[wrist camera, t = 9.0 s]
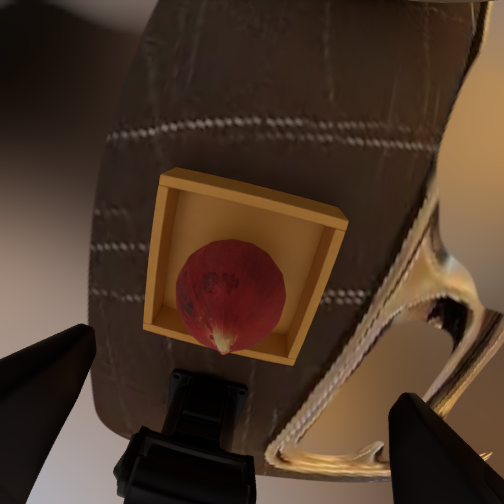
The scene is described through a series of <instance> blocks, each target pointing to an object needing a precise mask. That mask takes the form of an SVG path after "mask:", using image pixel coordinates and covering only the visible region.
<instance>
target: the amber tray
mask: <svg viewBox="0 0 504 504" xmlns="http://www.w3.org/2000/svg"><path fill="white" fill-rule="evenodd" d="M348 223H349V221H348V219H347V218H346V217H345V216H344V214H343V213H342V212H341V210H340V209H339V208H338V207H335V206H332V205H328V204H325V203H321V202H318V201H314V200H311V199H307V198H303V197H300V196H296V195H292V194H288V193H285V192H281V191H277V190H273V189H269V188H265V187H261V186H257V185H253V184H249V183H245V182H241V181H237V180H232V179H228V178H224V177H219V176H215V175H211V174H206V173H202V172H197V171H192V170H188V169H183V168H178V167H176V168H174V169H172V170H170V171H167V172H165V173H163V174H161V175H160V180H159V186H158V192H157V199H156V205H155V212H154V220H153V227H152V235H151V243H150V252H149V261H148V271H147V282H146V293H145V307H144V322H143V329H144V330H148V331H151V332H154V333H158V334H161V335H165V336H168V337H172V338H175V339H179V340H182V341H186V342H190V343H193V344H197V345H201V346H205V345H203V344H201V343H199V342H198V341H197V340H196V339H195V338H194V337H193V336H192V335H191V334H190V333H189V332H188V331H187V330H186V327H185V325H184V323H183V321H182V319H181V316H180V314H179V312H178V310H177V306H176V280H177V277H178V274H179V273H180V271H181V269H182V268H183V266H184V264H185V263H186V261H187V259H188V258H189V256H190V255H191V254H192V253H194V252H195V251H196V250H198V249H200V248H202V247H203V246H205V245H207V244H209V243H210V242H212V241H219V240H227V239H237V240H241V241H245V242H249V243H253V244H255V245H256V246H258V247H259V248H261V249H262V250H264V251H265V252H267V253H268V254H269V255H270V256H271V258H272V259H273V261H274V262H275V264H276V265H277V266H278V268H279V269H280V271H281V272H282V274H283V278H284V284H285V290H286V301H285V305H284V308H283V311H282V315H281V318H280V321H279V322H278V324H277V325H276V327H275V328H274V329H273V330H272V331H271V333H270V334H269V335H268V336H267V337H266V338H265V339H264V340H263V341H261V342H259V343H257V344H256V345H254V346H252V347H250V348H248V349H245V350H240V351H234V352H229V353H234V354H238V355H242V356H247V357H252V358H256V359H261V360H266V361H271V362H275V363H281V364H286V365H291V366H293V365H294V363H295V361H296V358H297V356H298V354H299V351H300V349H301V347H302V344H303V342H304V339H305V337H306V335H307V332H308V330H309V327H310V325H311V323H312V320H313V318H314V315H315V313H316V310H317V308H318V305H319V303H320V300H321V297H322V295H323V292H324V290H325V287H326V284H327V282H328V279H329V276H330V274H331V271H332V268H333V266H334V263H335V260H336V257H337V255H338V252H339V249H340V246H341V243H342V241H343V238H344V235H345V231H346V229H347V226H348ZM205 347H207V346H205Z"/></svg>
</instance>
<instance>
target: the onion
mask: <svg viewBox="0 0 504 504" xmlns="http://www.w3.org/2000/svg"><path fill="white" fill-rule="evenodd" d="M285 301H286V290H285V284H284V278H283V274H282V272H281V271H280V269H279V268H278V266H277V265H276V264H275V262H274V261H273V259H272V258H271V256H270V255H269V254H268V253H267V252H265V251H264V250H262V249H261V248H259V247H258V246H256V245H255V244H253V243H249V242H245V241H241V240H237V239H227V240H219V241H212V242H210V243H209V244H207V245H205V246H203V247H202V248H200V249H198V250H196V251H195V252H194V253H192V254H191V255H190V256H189V258H188V259H187V261H186V263H185V264H184V266H183V268H182V269H181V271H180V273H179V274H178V277H177V280H176V306H177V310H178V312H179V314H180V316H181V319H182V321H183V323H184V325H185V327H186V330H187V331H188V332H189V333H190V334H191V335H192V336H193V337H194V338H195V339H196V340H197V341H198V342H199V343H201V344H203V345H205V346H207V347H209V348H211V349H214V350H218V351H219V352H220V353H221V354H222V355H224V354H228V353H229V352H234V351H240V350H245V349H248V348H250V347H252V346H254V345H256V344H257V343H259V342H261V341H263V340H264V339H265V338H266V337H267V336H268V335H269V334H270V333H271V331H272V330H273V329H274V328H275V327H276V325H277V324H278V322H279V321H280V318H281V315H282V311H283V308H284V305H285Z"/></svg>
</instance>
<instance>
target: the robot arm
mask: <svg viewBox="0 0 504 504" xmlns="http://www.w3.org/2000/svg"><path fill="white" fill-rule="evenodd" d="M95 355H96V339H95V330H94V328H93V327H91V326H88V325H85V324H78V325H75V326H73V327H71V328H69V329H67V330H64V331H62V332H60V333H57V334H55V335H53V336H51V337H49V338H47V339H44V340H42V341H40V342H37V343H35V344H33V345H31V346H29V347H26V348H24V349H22V350H20V351H17V352H15V353H13V354H11V355H8V356H6V357H4V358H2V359H0V504H26V502H27V499H28V497H29V495H30V492H31V490H32V488H33V486H34V483H35V481H36V479H37V477H38V475H39V473H40V471H41V469H42V467H43V464H44V463H45V460H46V458H47V456H48V454H49V452H50V450H51V448H52V446H53V444H54V442H55V440H56V438H57V436H58V435H59V433H60V431H61V429H62V427H63V425H64V423H65V421H66V419H67V417H68V415H69V414H70V412H71V410H72V408H73V406H74V404H75V402H76V400H77V398H78V396H79V394H80V392H81V389H82V386H83V384H84V382H85V379H86V377H87V374H88V372H89V370H90V367H91V365H92V363H93V360H94V358H95ZM177 375H179V376H177ZM247 394H248V388H247V387H246V386H243V385H238V384H234V383H229V382H225V381H221V380H217V379H212V378H208V377H204V376H200V375H196V374H193V373H189V372H185V371H181V370H177V369H175V370H173V371H172V374H171V380H170V389H169V399H168V409H167V416H166V419H165V422H164V425H163V428H162V431H161V433H159V432H156V431H153V430H150V429H149V428H147V427H144V426H142V427H141V429H140V431H139V433H136V434H133V435H132V437H131V439H130V442H129V444H128V447H127V449H126V451H125V453H124V454H123V455H122V457H121V458H120V460H119V461H118V463H117V464H116V466H115V467H114V470H113V474H114V476H115V477H116V479H117V486H118V487H117V495H118V496H120V497H123V498H125V499H124V503H123V504H256V480H255V468H254V457H253V456H250V455H246V456H244V455H240V454H235V453H231V449H232V441H233V434H234V429H235V427H236V424H237V421H238V419H239V416H240V413H241V411H242V408H243V405H244V403H245V400H246V397H247ZM388 421H389V457H390V458H389V459H390V469H391V479H392V490H393V501H394V504H504V479H503V478H502V477H501V476H500V475H499V474H497V473H496V472H495V471H494V470H493V469H492V468H491V467H490V466H489V465H488V464H487V463H486V462H485V461H484V460H483V459H482V458H481V457H480V456H479V455H478V454H477V453H476V452H475V451H474V450H473V449H472V448H471V447H470V446H469V445H468V444H467V443H466V442H465V441H464V440H463V439H462V438H461V437H460V436H459V435H458V434H457V433H456V432H454V430H453V429H451V427H450V426H449V425H448V424H447V423H446V422H444V421H443V420H442V419H441V418H440V417H439V416H438V415H437V414H436V413H435V412H434V411H433V410H432V409H431V408H430V407H429V406H428V405H427V404H426V403H425V402H424V401H423V400H422V399H421V398H420V397H419V396H418V395H417V394H415V393H403V394H401V396H400V397H399V398H398V400H397V401H396V402H395V404H394V405H393V406H392V408H391V409H390V411H389V416H388Z"/></svg>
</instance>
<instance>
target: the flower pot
mask: <svg viewBox="0 0 504 504" xmlns="http://www.w3.org/2000/svg"><path fill="white" fill-rule="evenodd" d="M409 1H418V2H433V3H464V2H482V1H493V0H409Z"/></svg>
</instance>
